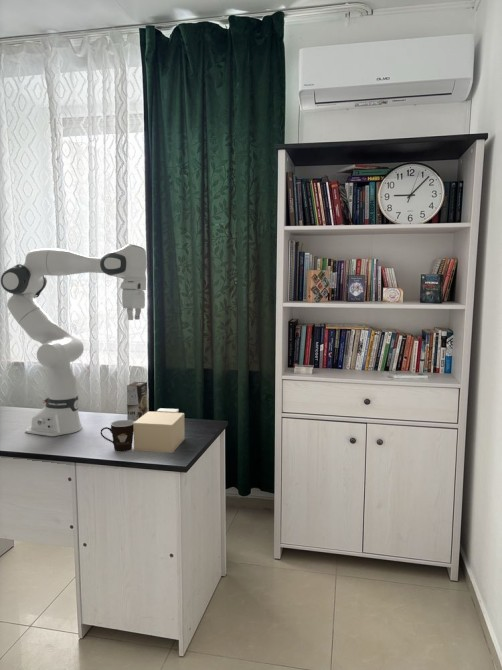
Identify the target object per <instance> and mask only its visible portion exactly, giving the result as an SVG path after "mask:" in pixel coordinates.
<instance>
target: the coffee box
mask: <svg viewBox="0 0 502 670" xmlns="http://www.w3.org/2000/svg"><path fill="white" fill-rule="evenodd" d="M147 412H148V382H146V381H133V382H131V383H130V384H128V385H126V415H127V416H126V418H127V419H126V420H131V421H133V422H135V421H136V420H138V419H139V418H140V417H142V416H143V415H144V414H146V413H147Z"/></svg>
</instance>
